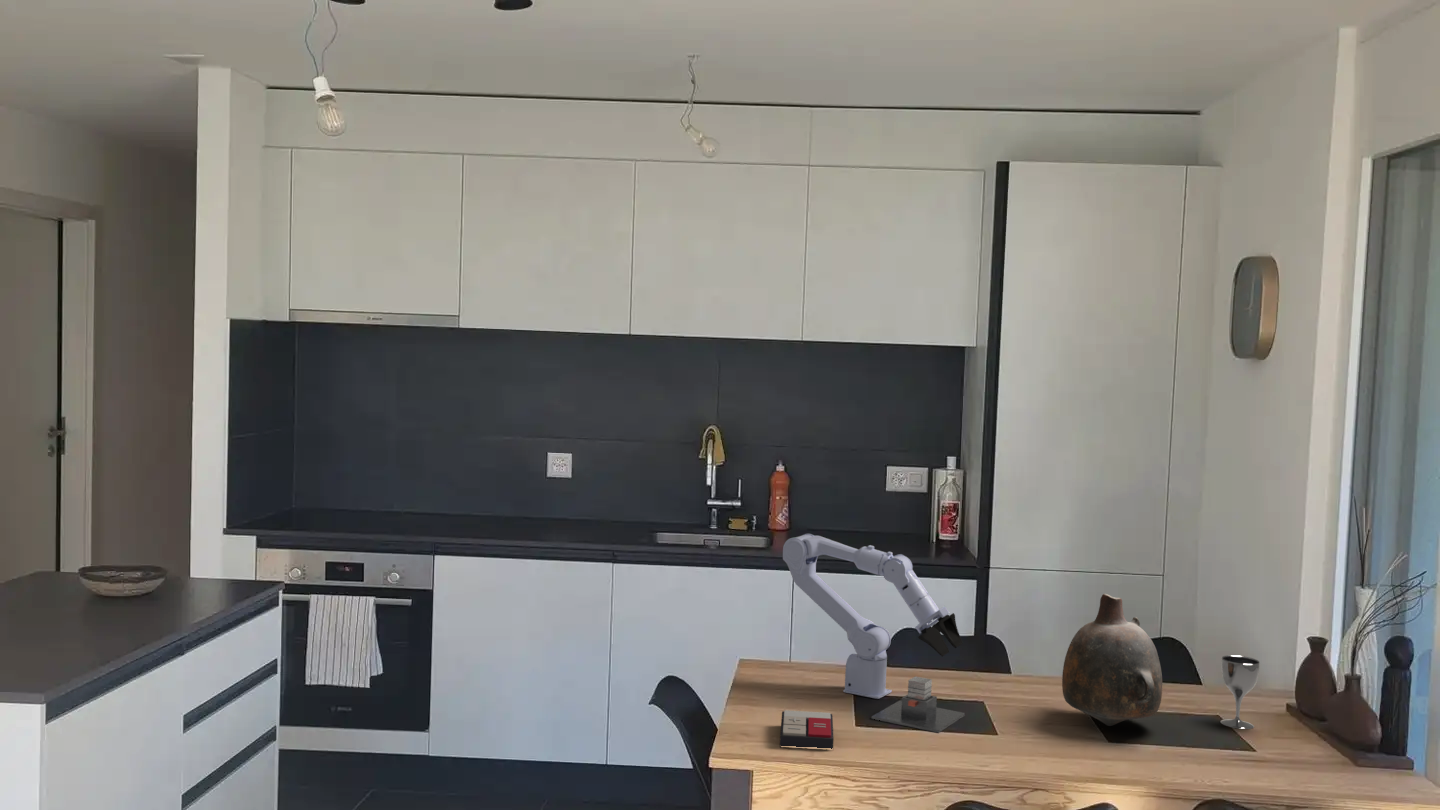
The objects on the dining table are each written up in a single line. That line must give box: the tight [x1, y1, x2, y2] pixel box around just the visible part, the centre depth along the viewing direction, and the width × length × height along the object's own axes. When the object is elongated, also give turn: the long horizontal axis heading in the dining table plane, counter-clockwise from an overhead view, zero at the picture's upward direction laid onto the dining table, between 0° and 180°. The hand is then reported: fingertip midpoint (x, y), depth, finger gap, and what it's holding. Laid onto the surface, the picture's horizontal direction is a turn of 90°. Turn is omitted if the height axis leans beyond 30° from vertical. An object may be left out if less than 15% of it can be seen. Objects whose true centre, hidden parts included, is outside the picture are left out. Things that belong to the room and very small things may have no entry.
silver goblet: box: [1220, 654, 1261, 730], centre depth 277 cm, size 8×8×15 cm
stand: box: [871, 694, 966, 734], centre depth 273 cm, size 16×16×5 cm
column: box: [907, 676, 933, 701], centre depth 273 cm, size 4×4×8 cm
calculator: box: [779, 709, 834, 749], centre depth 256 cm, size 11×4×15 cm
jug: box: [1061, 593, 1163, 727], centre depth 272 cm, size 24×21×30 cm
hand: (952, 650), depth 282 cm, fingers open, 7 cm apart
